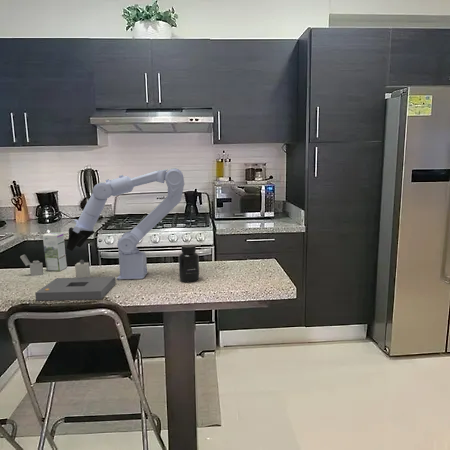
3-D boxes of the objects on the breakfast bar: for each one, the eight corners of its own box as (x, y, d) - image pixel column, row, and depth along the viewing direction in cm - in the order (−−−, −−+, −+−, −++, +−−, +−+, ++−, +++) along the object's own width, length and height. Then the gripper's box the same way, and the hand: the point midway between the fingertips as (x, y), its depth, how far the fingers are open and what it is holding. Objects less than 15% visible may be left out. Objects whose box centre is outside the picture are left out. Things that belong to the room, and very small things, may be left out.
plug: (90, 278, 141) (88, 259, 140) (87, 280, 138) (86, 261, 137) (79, 279, 141) (77, 259, 140) (76, 281, 138) (74, 261, 137)
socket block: (115, 283, 134) (115, 276, 134) (101, 299, 119) (100, 290, 119) (57, 285, 134) (56, 277, 134) (36, 300, 119) (35, 292, 119)
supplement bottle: (191, 283, 132) (190, 248, 130) (175, 281, 135) (174, 247, 133) (203, 278, 137) (202, 244, 135) (187, 276, 141) (186, 243, 139)
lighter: (43, 273, 149) (41, 253, 148) (42, 274, 148) (40, 254, 146) (23, 275, 148) (21, 254, 147) (22, 276, 146) (19, 255, 145)
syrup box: (67, 267, 157) (64, 231, 155) (59, 271, 151) (56, 234, 149) (53, 267, 158) (50, 231, 155) (45, 271, 152) (42, 234, 150)
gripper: (87, 207, 144) (71, 239, 145) (72, 209, 130) (54, 245, 131) (105, 216, 145) (88, 248, 146) (92, 219, 130) (73, 255, 131)
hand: (73, 247), depth 138 cm, fingers open, 7 cm apart
